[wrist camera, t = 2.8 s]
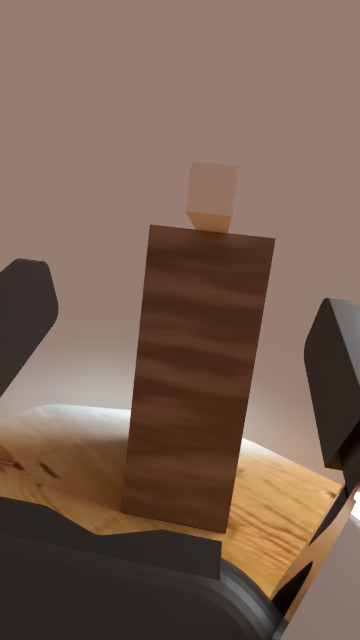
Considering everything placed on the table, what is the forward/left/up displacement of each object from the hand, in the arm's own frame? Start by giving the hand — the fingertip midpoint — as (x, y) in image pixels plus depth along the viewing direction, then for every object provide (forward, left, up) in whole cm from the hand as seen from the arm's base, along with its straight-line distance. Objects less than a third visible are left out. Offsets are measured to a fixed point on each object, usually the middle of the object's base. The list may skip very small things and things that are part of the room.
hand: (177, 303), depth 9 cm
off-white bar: (-11, +23, +5) cm, 25 cm away
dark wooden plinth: (-13, +27, -27) cm, 41 cm away
